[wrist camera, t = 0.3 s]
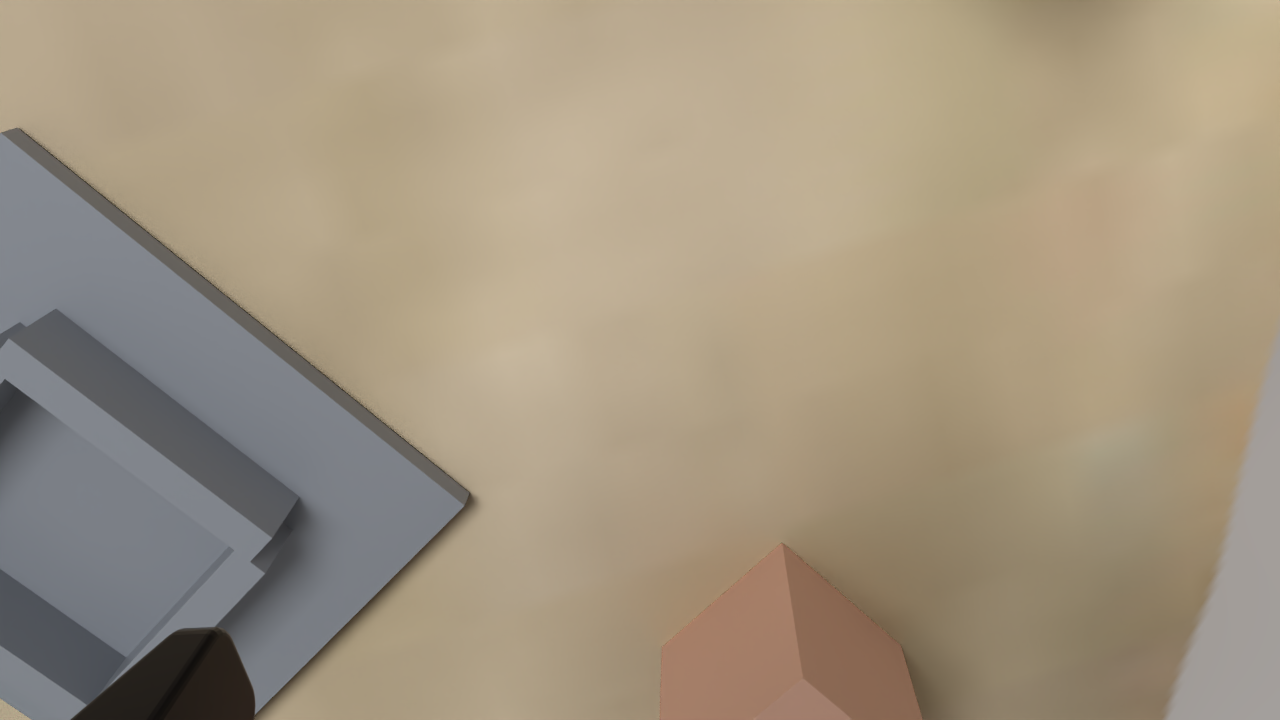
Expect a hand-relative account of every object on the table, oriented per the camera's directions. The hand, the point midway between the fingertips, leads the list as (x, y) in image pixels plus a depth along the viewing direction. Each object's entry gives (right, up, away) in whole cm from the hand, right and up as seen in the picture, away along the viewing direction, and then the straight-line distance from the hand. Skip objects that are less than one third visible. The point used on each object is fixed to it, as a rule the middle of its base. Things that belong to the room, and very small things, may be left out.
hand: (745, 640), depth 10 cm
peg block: (+3, -4, +18) cm, 18 cm away
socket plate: (-13, -1, +17) cm, 21 cm away
